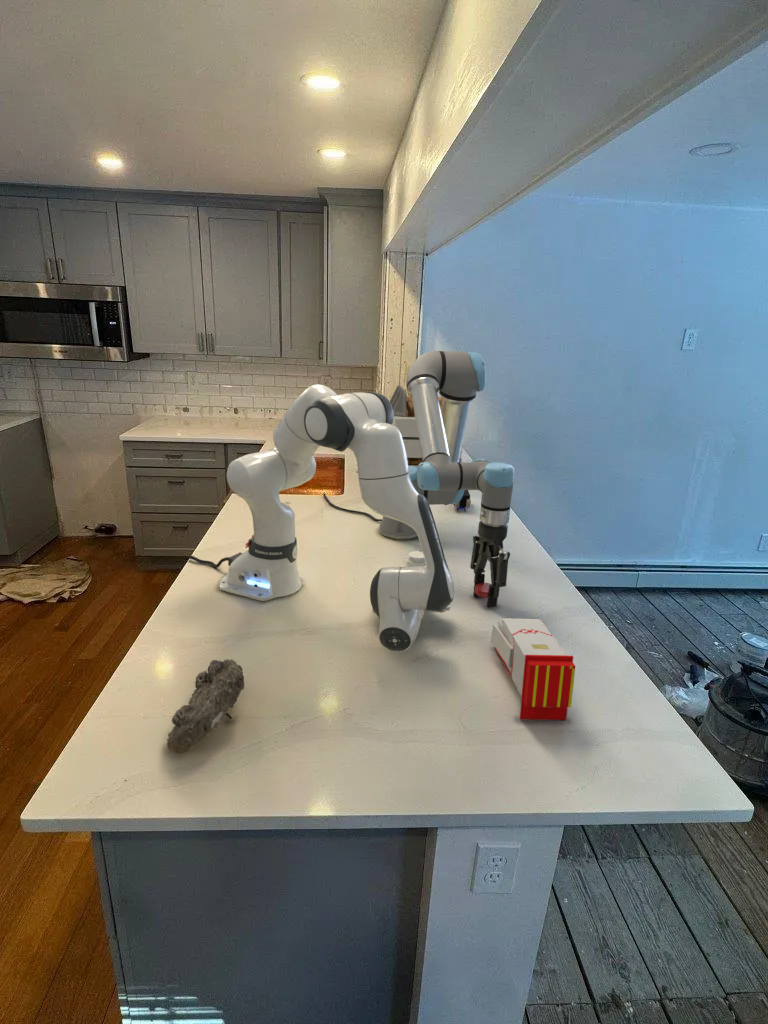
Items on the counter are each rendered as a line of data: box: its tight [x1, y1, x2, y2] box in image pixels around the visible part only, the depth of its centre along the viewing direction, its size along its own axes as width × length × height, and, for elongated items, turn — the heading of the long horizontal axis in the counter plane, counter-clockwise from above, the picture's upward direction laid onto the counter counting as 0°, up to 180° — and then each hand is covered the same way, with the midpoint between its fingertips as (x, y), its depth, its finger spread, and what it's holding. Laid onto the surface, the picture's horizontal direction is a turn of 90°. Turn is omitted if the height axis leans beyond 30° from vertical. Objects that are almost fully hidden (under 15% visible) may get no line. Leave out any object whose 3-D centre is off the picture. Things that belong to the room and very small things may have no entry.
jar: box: [405, 550, 426, 567], centre depth 150 cm, size 6×6×15 cm
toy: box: [490, 617, 576, 721], centre depth 122 cm, size 12×13×30 cm
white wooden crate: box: [389, 384, 464, 467], centre depth 268 cm, size 34×33×41 cm
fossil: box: [166, 658, 245, 754], centre depth 106 cm, size 22×10×15 cm
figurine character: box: [453, 490, 472, 513], centre depth 228 cm, size 7×8×15 cm
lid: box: [475, 582, 492, 599], centre depth 155 cm, size 6×6×2 cm
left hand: (415, 581), depth 151 cm, fingers closed on jar, 5 cm apart
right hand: (484, 600), depth 156 cm, fingers closed on lid, 6 cm apart
